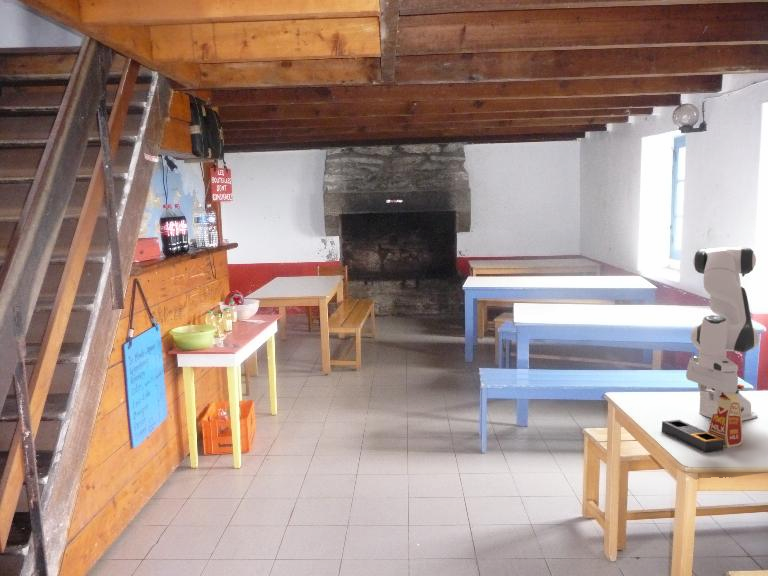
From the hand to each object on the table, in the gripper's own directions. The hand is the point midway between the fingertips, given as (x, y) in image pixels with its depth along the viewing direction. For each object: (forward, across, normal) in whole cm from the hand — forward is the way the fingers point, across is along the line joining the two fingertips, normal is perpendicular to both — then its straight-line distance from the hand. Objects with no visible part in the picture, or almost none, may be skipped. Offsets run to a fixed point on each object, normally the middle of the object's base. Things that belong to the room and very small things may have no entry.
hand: (709, 398), depth 217 cm
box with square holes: (+18, -7, 0) cm, 20 cm away
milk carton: (+19, -3, +12) cm, 22 cm away
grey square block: (+5, 0, 0) cm, 5 cm away
